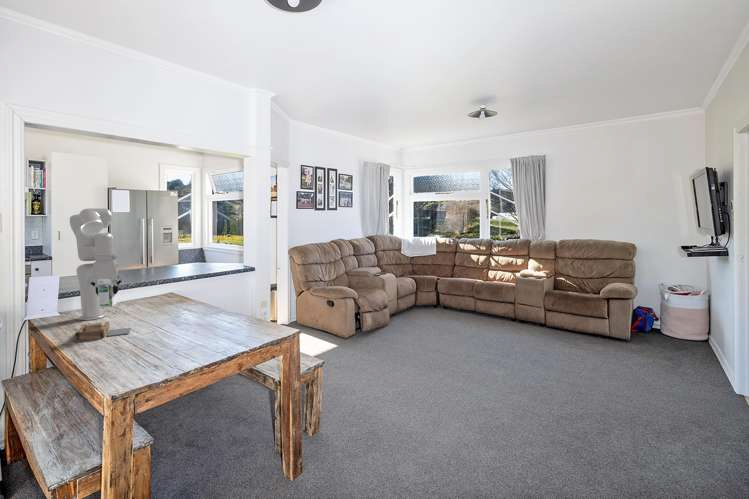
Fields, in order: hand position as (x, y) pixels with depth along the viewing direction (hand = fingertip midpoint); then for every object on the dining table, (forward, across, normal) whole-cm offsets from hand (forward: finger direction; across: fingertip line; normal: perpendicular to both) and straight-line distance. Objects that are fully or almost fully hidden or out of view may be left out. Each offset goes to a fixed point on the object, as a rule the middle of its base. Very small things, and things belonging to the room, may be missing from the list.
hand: (107, 294), depth 191 cm
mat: (+21, -4, -1) cm, 21 cm away
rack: (+21, +7, -1) cm, 22 cm away
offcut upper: (+18, +7, -5) cm, 20 cm away
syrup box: (+6, 0, 0) cm, 6 cm away
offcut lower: (+21, +7, -5) cm, 23 cm away
